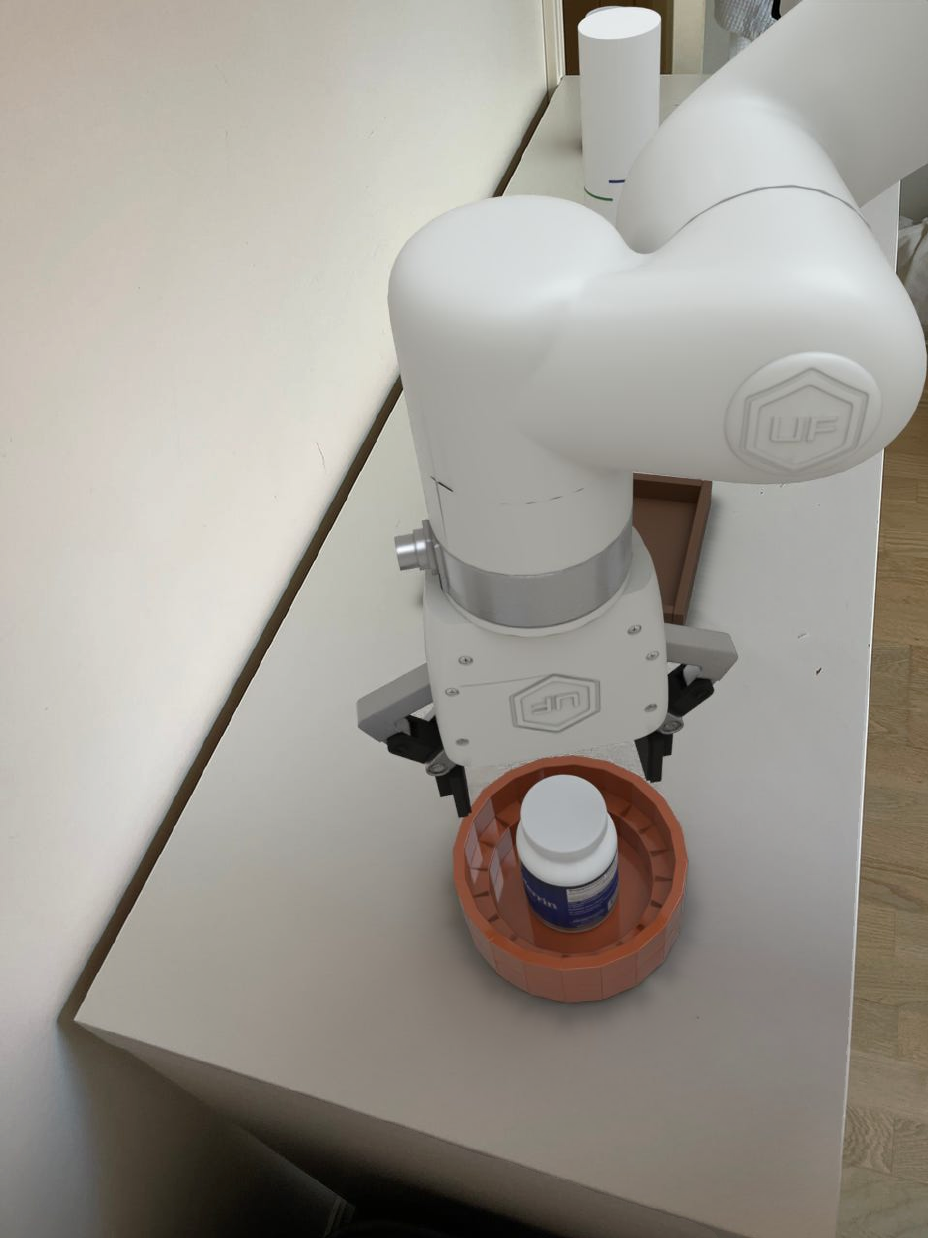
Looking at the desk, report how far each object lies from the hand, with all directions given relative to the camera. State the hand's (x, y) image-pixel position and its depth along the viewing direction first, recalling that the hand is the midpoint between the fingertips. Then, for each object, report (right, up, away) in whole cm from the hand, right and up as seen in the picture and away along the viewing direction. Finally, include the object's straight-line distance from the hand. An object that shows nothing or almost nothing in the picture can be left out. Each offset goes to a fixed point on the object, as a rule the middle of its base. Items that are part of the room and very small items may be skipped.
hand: (554, 775), depth 51 cm
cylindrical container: (+12, +44, +55) cm, 71 cm away
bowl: (+2, -9, +11) cm, 14 cm away
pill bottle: (+2, -9, +10) cm, 14 cm away
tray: (+4, +14, +30) cm, 33 cm away
